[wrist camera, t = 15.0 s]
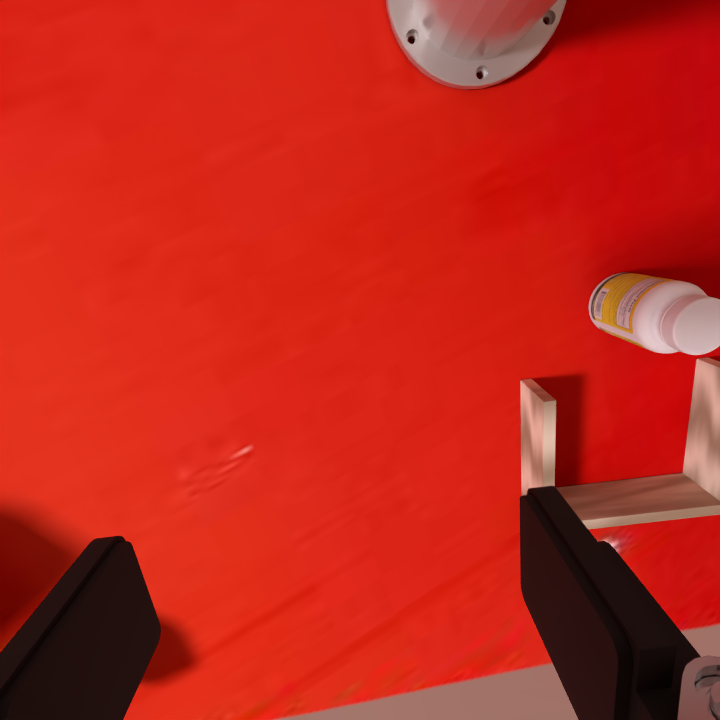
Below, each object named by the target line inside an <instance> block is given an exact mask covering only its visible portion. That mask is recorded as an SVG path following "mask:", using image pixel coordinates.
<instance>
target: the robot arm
mask: <svg viewBox="0 0 720 720" xmlns="http://www.w3.org/2000/svg"><path fill="white" fill-rule="evenodd" d="M566 2H567V0H386V5H387V12H388V16H389V20H390V24H391V27H392V30H393V32H394V35H395V37H396V39H397V41H398V44H399V46H400V47H401V49H402V50H403V52H404V53H405V55H406V56H407V58H408V59H409V60H410V62H411V63H412V64H413V65H415V66H416V67H417V68H418V69H419V70H420V71H421V72H422V73H423V74H425V75H426V76H428V77H429V78H431V79H432V80H434V81H435V82H438V83H440V84H443V85H446V86H448V87H451V88H458V89H465V90H469V89H482V88H486V87H489V86H493V85H496V84H499V83H501V82H503V81H505V80H507V79H508V78H510V77H512V76H514V75H515V74H517V73H518V72H519V71H520V70H522V69H523V68H524V67H525V66H527V65H528V64H529V63H530V62H531V61H532V60H533V59H534V58H535V57H536V56H537V55H538V54H539V53H540V52H541V50H542V49H543V48H544V46H545V45H546V43H547V42H548V41H549V39H550V38H551V37H552V35H553V33H554V31H555V29H556V27H557V26H558V24H559V21H560V19H561V16H562V13H563V10H564V7H565V5H566ZM543 20H546V22H547V25H546V24H545V23H544V22H543ZM409 38H413V39H414V44H410V43H409V42H408V39H409ZM476 73H480V74H481V75H482V78H481V79H478V78H477V76H476ZM520 555H521V589H522V594H523V598H524V600H525V603H526V605H527V607H528V610H529V612H530V614H531V616H532V618H533V621H534V623H535V625H536V627H537V629H538V632H539V634H540V636H541V638H542V640H543V643H544V645H545V647H546V649H547V651H548V654H549V656H550V658H551V660H552V662H553V665H554V667H555V669H556V671H557V673H558V675H559V678H560V680H561V682H562V684H563V687H564V689H565V691H566V693H567V695H568V697H569V700H570V702H571V704H572V706H573V708H574V711H575V713H576V715H577V717H578V719H579V720H720V657H716V656H704V657H701V656H700V655H699V654H698V653H697V651H696V650H695V649H694V648H693V646H692V645H691V644H690V643H689V641H688V640H687V639H686V638H685V636H684V635H683V634H682V633H681V631H680V630H679V629H678V628H677V626H676V625H675V624H674V623H673V621H672V620H671V619H670V618H669V616H668V615H667V614H666V613H665V611H664V610H663V609H662V608H661V606H660V605H659V604H658V603H657V601H656V600H655V599H654V598H653V596H652V595H651V594H650V593H649V592H648V590H647V589H646V588H645V587H644V585H643V584H642V583H641V582H640V580H639V579H638V578H637V577H636V575H635V574H634V573H633V572H632V570H631V569H630V568H629V567H628V565H627V564H626V563H625V562H624V560H623V559H622V558H621V557H620V555H619V554H618V553H617V552H616V550H615V549H614V548H613V547H612V546H611V545H610V544H609V543H607V542H605V541H600V542H597V540H596V539H595V538H594V537H593V535H592V534H591V533H590V531H589V530H588V529H587V527H586V526H585V525H584V524H583V522H582V521H581V520H580V518H579V517H578V516H577V514H576V513H575V512H574V511H573V509H572V508H571V507H570V505H569V504H568V503H567V501H566V500H565V499H564V497H563V496H562V495H561V494H560V492H559V491H558V490H557V488H556V487H555V486H544V487H536V488H529V489H528V491H527V495H523V496H521V497H520ZM160 633H161V627H160V623H159V620H158V617H157V614H156V611H155V609H154V606H153V603H152V600H151V597H150V594H149V592H148V589H147V586H146V583H145V580H144V577H143V574H142V572H141V569H140V566H139V563H138V560H137V557H136V555H135V552H134V549H133V546H132V544H131V543H130V542H128V541H125V539H124V538H123V537H122V536H114V537H105V538H97V539H94V540H93V541H92V542H91V543H90V544H89V545H88V546H87V547H86V549H85V550H84V551H83V552H82V553H81V555H80V556H79V557H78V558H77V560H76V561H75V562H74V563H73V564H72V566H71V567H70V568H69V569H68V571H67V572H66V573H65V574H64V576H63V577H62V578H61V579H60V580H59V582H58V583H57V584H56V585H55V587H54V588H53V589H52V590H51V591H50V593H49V594H48V595H47V596H46V598H45V599H44V600H43V601H42V603H41V604H40V605H39V606H38V607H37V609H36V610H35V611H34V612H33V614H32V615H31V616H30V617H29V618H28V620H27V621H26V622H25V623H24V625H23V626H22V627H21V628H20V630H19V631H18V632H17V633H16V634H15V636H14V637H13V638H12V639H11V641H10V642H9V643H8V644H7V645H6V647H5V648H4V649H3V650H2V652H1V653H0V720H123V719H124V716H125V714H126V712H127V710H128V708H129V706H130V703H131V701H132V699H133V697H134V695H135V692H136V690H137V688H138V686H139V684H140V682H141V679H142V677H143V675H144V673H145V671H146V669H147V666H148V664H149V662H150V660H151V658H152V655H153V653H154V651H155V649H156V647H157V645H158V642H159V639H160Z"/></svg>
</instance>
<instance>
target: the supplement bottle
mask: <svg viewBox="0 0 720 720" xmlns="http://www.w3.org/2000/svg"><path fill="white" fill-rule="evenodd" d="M589 315H590V318H591V320H592V322H593V323H594V324H595V325H596V326H597V327H598V328H599V329H601V330H603V331H605V332H607V333H609V334H611V335H614V336H616V337H619V338H621V339H624V340H626V341H628V342H631V343H633V344H636V345H638V346H641V347H643V348H645V349H648V350H650V351H654V352H657V353H675V352H678V351H681V352H684V353H687V354H690V355H701V354H705V353H708V352H711V351H713V350H714V349H716V348H717V347H719V346H720V299H717V298H714V297H709V296H707V295H706V294H705V292H704V291H703V290H702V289H700V288H699V287H698V286H696V285H694V284H691V283H688V282H684V281H678V280H672V279H666V278H660V277H654V276H648V275H642V274H636V273H618V274H614V275H612V276H609V277H608V278H606V279H604V280H603V281H602V282H601V283H600V284H599V285H598V286H597V287H596V288H595V289H594V291H593V293H592V295H591V297H590V301H589Z"/></svg>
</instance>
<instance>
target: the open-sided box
mask: <svg viewBox="0 0 720 720" xmlns="http://www.w3.org/2000/svg"><path fill="white" fill-rule="evenodd" d="M555 439H556V400H555V399H554V398H553V397H552V396H551V395H549V394H548V393H547V392H546V391H545V390H544V389H543V388H541V387H540V386H539V385H538V384H537V383H536V382H535V381H533V380H532V379H526V380H521V489H522V496H523V495H527V491H528V489H529V488H536V487H544V486H555ZM557 490H558V491H559V492H560V494H561V495H562V496H563V497H564V499H565V500H566V501H567V503H568V504H569V505H570V507H571V508H572V509H573V511H574V512H575V513H576V514H577V516H578V517H579V518H580V520H581V521H582V522H583V524H584V525H585V526H586V527H587V529H595V528H604V527H612V526H621V525H630V524H639V523H648V522H656V521H665V520H674V519H683V518H691V517H700V516H709V515H718V514H720V362H719V361H716V360H714V359H711V358H708V357H707V358H699V359H697V362H696V370H695V378H694V386H693V394H692V402H691V410H690V418H689V426H688V434H687V442H686V450H685V458H684V466H683V473H678V474H669V475H661V476H652V477H643V478H635V479H626V480H617V481H609V482H600V483H592V484H583V485H574V486H566V487H557Z"/></svg>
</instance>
